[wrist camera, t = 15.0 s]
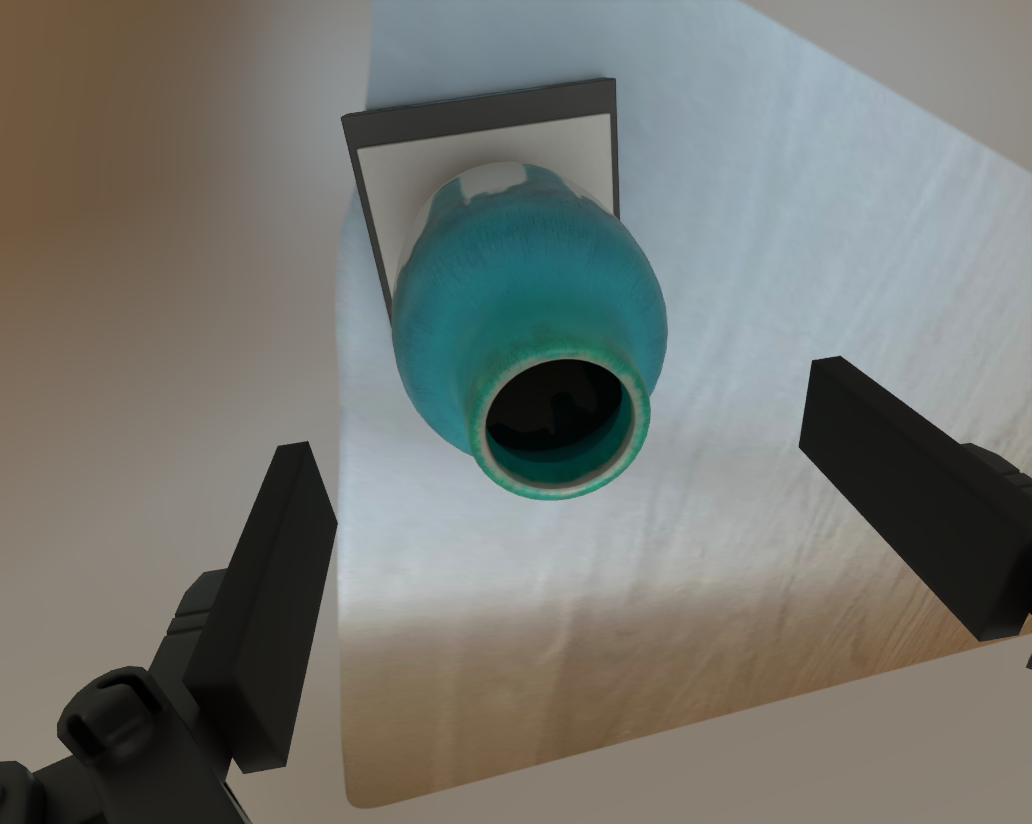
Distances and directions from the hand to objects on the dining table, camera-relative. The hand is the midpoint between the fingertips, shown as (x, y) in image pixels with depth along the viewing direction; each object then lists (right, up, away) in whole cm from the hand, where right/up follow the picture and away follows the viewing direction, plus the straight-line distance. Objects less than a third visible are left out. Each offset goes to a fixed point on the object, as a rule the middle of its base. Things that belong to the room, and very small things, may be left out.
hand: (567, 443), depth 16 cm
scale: (-3, +11, +20) cm, 23 cm away
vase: (-2, +10, +18) cm, 21 cm away
